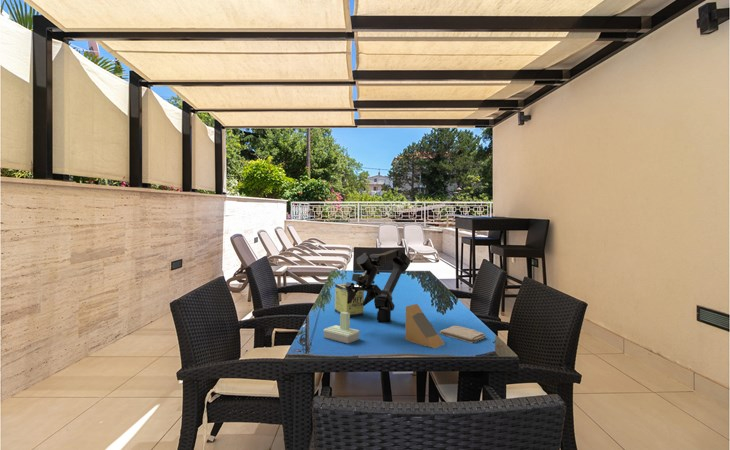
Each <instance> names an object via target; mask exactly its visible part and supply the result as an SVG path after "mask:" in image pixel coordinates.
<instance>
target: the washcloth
mask: <svg viewBox="0 0 730 450" xmlns="http://www.w3.org/2000/svg"><path fill="white" fill-rule="evenodd" d="M441 334H442V336H445V335H446V336H445V337H448V336H449V338H452V337H453V339H455V338H456V340H459V339H460V341H463V342H466V341H467V343H470V344H474V343H478V342H480V341H482V340H481V339H483V340H484V338H485V339H486V338H487V335H486V334H485V333H484V332H480V331H478V330H476V329H473V328H472V329H471V328H468V327H465V326H459V325H452V326H449V327H448V328H444V329H442V330H440V331H439V335H441ZM479 340H480V341H479ZM477 341H478V342H477ZM473 342H474V343H473Z"/></svg>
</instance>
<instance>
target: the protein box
mask: <svg viewBox="0 0 730 450" xmlns="http://www.w3.org/2000/svg"><path fill="white" fill-rule="evenodd" d="M346 283H347V282H346ZM346 283H335V285H334V289H335V290H334V312H335V313H337V314H338V315H340V313H341V312H348V313H350V318H355V317H362V316H363V317H364V310H365V309H364V307H365V306H363V305H362V304H363V301H364V299H365V291H360V290H358V291H357V293H356V296H355V297H354V298H353V300H352V301H351V302H350V303H349V304H348V303H347V300H348V290H347V289H346V288H345V287H344V286H345V284H346ZM354 284H355V285H356V286H358V284H356V283H354Z"/></svg>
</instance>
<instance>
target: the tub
mask: <svg viewBox="0 0 730 450" xmlns="http://www.w3.org/2000/svg"><path fill="white" fill-rule="evenodd" d="M359 337H360V332H359V333H356V334H354V335H351V336H349V337H346V336H342V335H338V334H333V333H329V332H325V331H323V338H324V339H326V340H330V341H335V342H338V343H343V344H347V345H348V344H351V343H353V342H356V341H358V340H359V339H360V338H359Z"/></svg>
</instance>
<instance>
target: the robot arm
mask: <svg viewBox="0 0 730 450" xmlns="http://www.w3.org/2000/svg"><path fill="white" fill-rule="evenodd" d="M388 261H392V265H393V268H392V271H391V272H390V275H389V277H388V279H387V281H386V283H385V285H384V287H383V289H381V287H379V286H378V285H377V284H375V281H374V280H375V277H376V276H377V275H380V270H379V268H378V267H383V266H384V265H386V262H388ZM356 263H357V265H358V266H359V267H360V269H361V270H362V271H363V272H362V273H361V274H360V273H352V276H351V281H352V282H349V281H347V282H346V284H345V283H344V284H345V286H344V287H345V288H346V289H347V290H348V300H347V303H348V304H349V303H350V302H351V301H352V300H353V298H354V297H355V296H356V293H357V291H358V290H360V291H364V292H366V295H365V296H364V301H363V304H362V305H363V306H364V307H365V306H366V305H368V303H370V302H371V301H372V300H374V301H373V303H374V307H375V309H376V310H377V309H378V310H377V311H376V317H377V319H376V320H377V323H389V324H390V323H391V322H392V317H391V315H392V311H394V310H395V306H396V305H395V304H394V302H393V293H394V290H395V288H396V286H397V284H398V281H399V279H400V277H401V275H402V273H403V272H405V271H407V269H408V268H409V266H410V264H411V259H410V257H408V255H407V254H405V253H404V252H402V250H401V249H399V248H398V249H396V248H392V249H390V250H388V251H385V252H382V253H371V254H370V255H369V254H368V253H367V252H363V254H361V255H359V256H358V257H357V258H356ZM353 281H354V282H355V283H354V282H353ZM355 284H356V285H358V286H356V285H355Z"/></svg>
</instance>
